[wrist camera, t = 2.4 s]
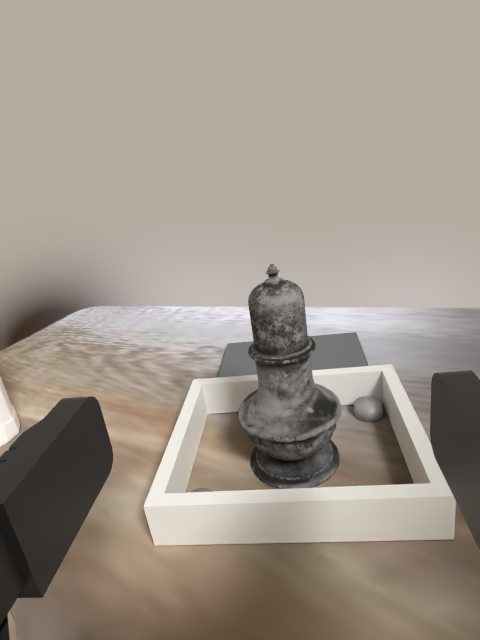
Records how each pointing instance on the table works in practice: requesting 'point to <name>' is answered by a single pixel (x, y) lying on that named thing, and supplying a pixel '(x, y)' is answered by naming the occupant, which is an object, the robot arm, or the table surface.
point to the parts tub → (302, 503)
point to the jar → (7, 417)
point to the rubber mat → (325, 356)
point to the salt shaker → (287, 393)
